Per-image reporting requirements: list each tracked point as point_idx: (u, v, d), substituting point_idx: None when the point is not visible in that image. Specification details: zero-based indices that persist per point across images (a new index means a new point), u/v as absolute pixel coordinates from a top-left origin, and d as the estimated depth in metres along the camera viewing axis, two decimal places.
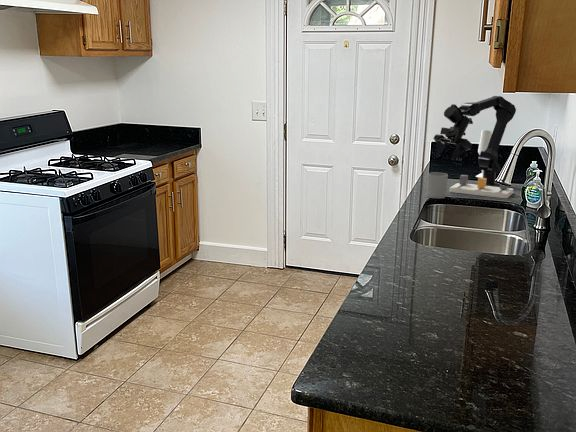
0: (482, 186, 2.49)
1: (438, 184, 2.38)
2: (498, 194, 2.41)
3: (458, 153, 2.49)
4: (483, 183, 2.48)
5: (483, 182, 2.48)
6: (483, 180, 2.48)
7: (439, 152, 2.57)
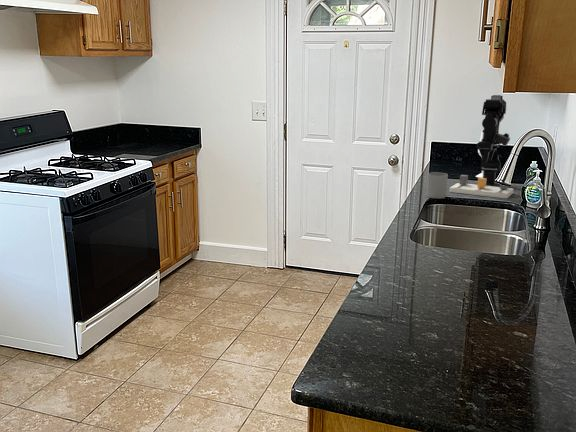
0: (482, 186, 2.49)
1: (438, 184, 2.38)
2: (498, 194, 2.41)
3: None
4: (483, 183, 2.48)
5: (483, 182, 2.48)
6: (483, 180, 2.48)
7: None
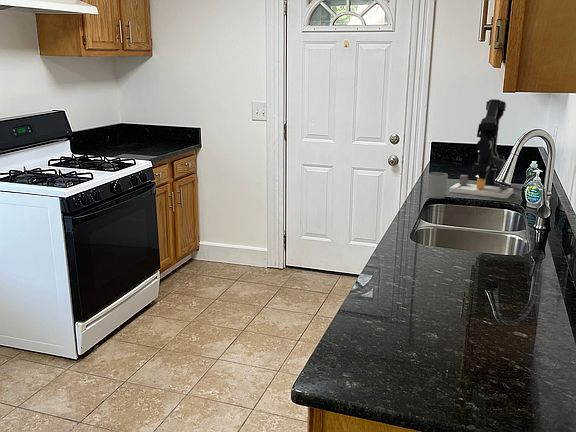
0: (481, 187, 2.47)
1: (438, 184, 2.38)
2: (498, 194, 2.41)
3: None
4: (482, 184, 2.47)
5: (482, 183, 2.47)
6: (482, 181, 2.46)
7: None
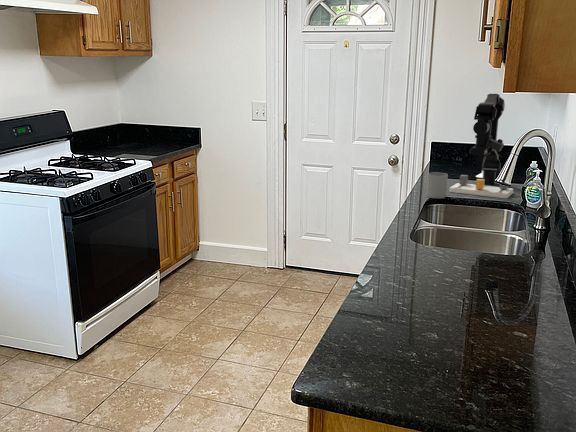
0: (480, 187, 2.46)
1: (438, 184, 2.38)
2: (498, 194, 2.41)
3: None
4: (481, 184, 2.46)
5: (481, 183, 2.45)
6: (481, 181, 2.45)
7: None
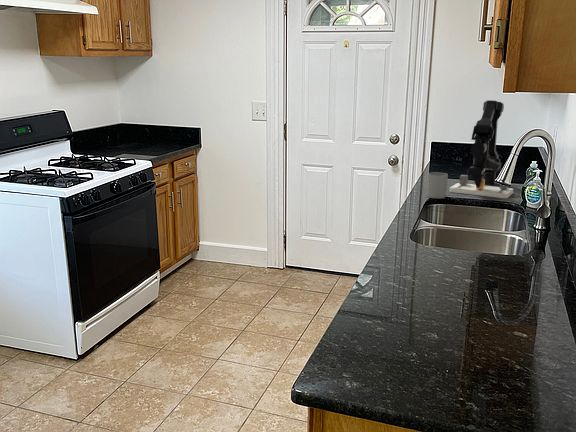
0: (481, 187, 2.47)
1: (438, 184, 2.38)
2: (498, 194, 2.41)
3: None
4: (482, 184, 2.46)
5: (482, 183, 2.46)
6: (482, 181, 2.46)
7: None
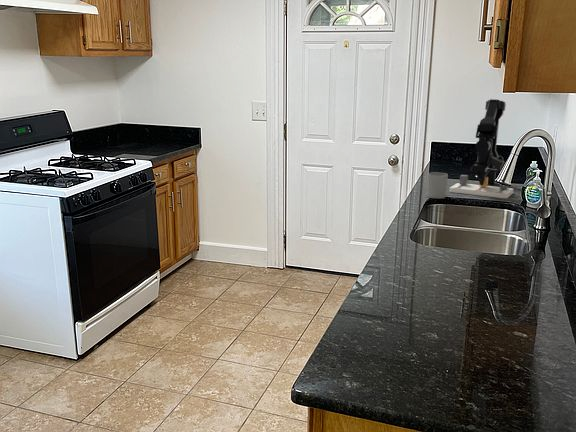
0: (484, 185, 2.51)
1: (438, 184, 2.38)
2: (498, 194, 2.41)
3: None
4: (485, 182, 2.50)
5: (485, 181, 2.50)
6: (485, 179, 2.50)
7: None
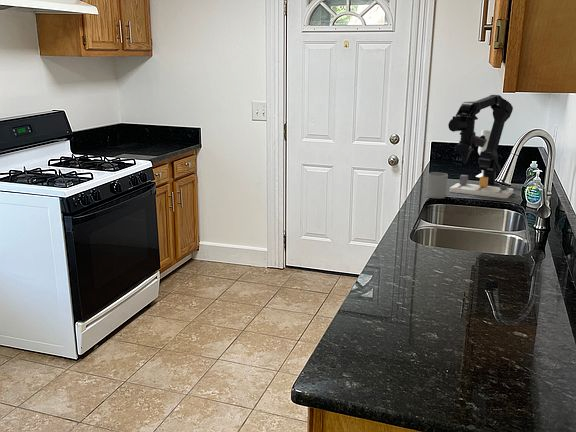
0: (484, 185, 2.51)
1: (438, 184, 2.38)
2: (498, 194, 2.41)
3: None
4: (485, 182, 2.50)
5: (485, 181, 2.50)
6: (485, 179, 2.50)
7: None
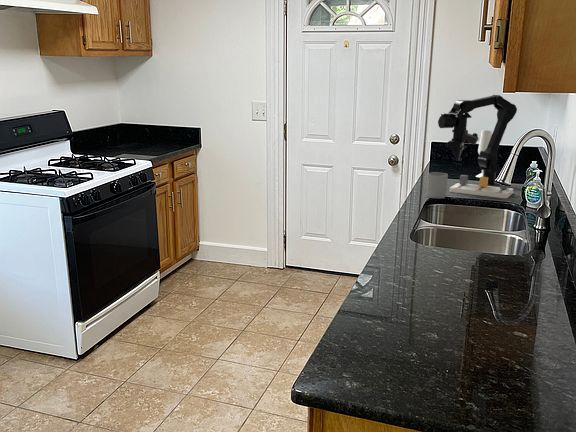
0: (484, 185, 2.51)
1: (438, 184, 2.38)
2: (498, 194, 2.41)
3: None
4: (485, 182, 2.50)
5: (485, 181, 2.50)
6: (485, 179, 2.50)
7: None
